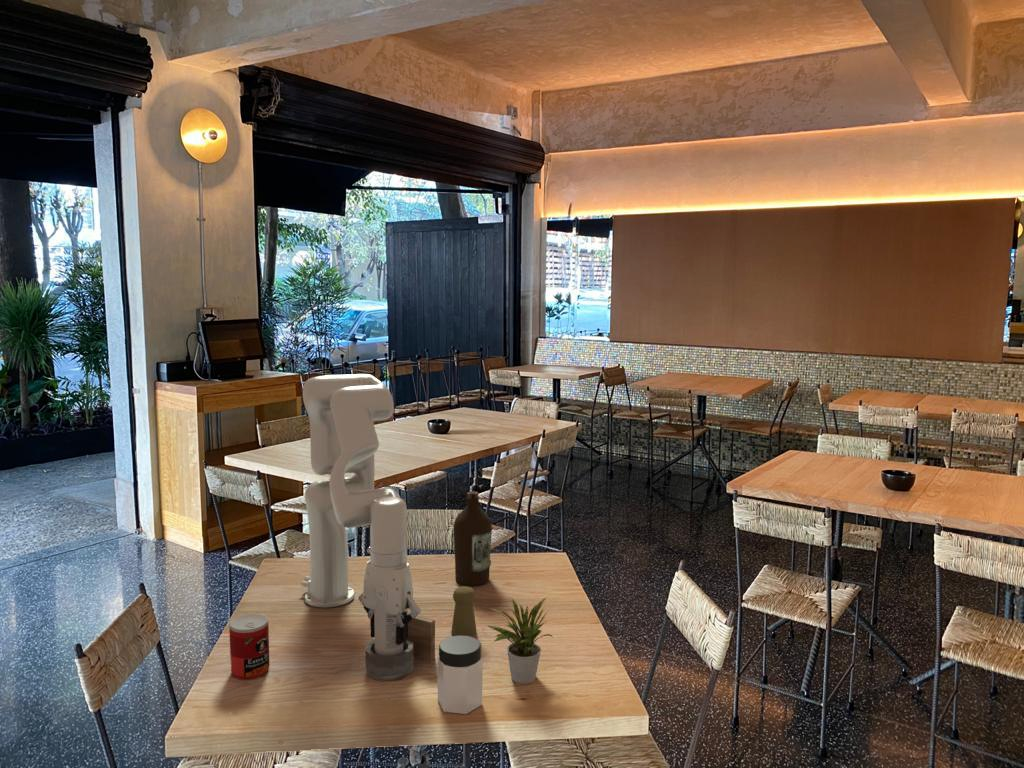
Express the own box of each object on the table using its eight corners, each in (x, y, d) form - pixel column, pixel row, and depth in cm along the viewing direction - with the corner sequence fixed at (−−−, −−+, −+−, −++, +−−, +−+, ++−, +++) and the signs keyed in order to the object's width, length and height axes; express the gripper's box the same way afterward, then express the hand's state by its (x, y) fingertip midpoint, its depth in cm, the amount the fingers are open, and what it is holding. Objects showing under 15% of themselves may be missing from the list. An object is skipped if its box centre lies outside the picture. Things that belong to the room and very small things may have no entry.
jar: (460, 686, 152) (460, 630, 151) (490, 700, 147) (491, 642, 145) (428, 704, 145) (428, 646, 144) (458, 720, 140) (458, 659, 139)
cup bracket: (398, 686, 152) (398, 644, 151) (352, 672, 157) (351, 631, 156) (434, 658, 163) (434, 619, 162) (390, 646, 169) (390, 608, 168)
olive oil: (445, 579, 208) (445, 492, 205) (474, 570, 216) (474, 485, 213) (470, 590, 201) (471, 500, 198) (499, 580, 208) (500, 493, 205)
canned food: (247, 684, 152) (246, 633, 151) (222, 673, 156) (220, 623, 155) (277, 668, 158) (276, 619, 157) (252, 658, 163) (251, 610, 161)
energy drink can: (392, 648, 163) (392, 583, 161) (409, 658, 159) (408, 591, 157) (369, 657, 159) (368, 590, 157) (385, 668, 154) (385, 599, 153)
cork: (473, 640, 172) (473, 594, 171) (447, 637, 174) (448, 592, 172) (479, 628, 178) (479, 584, 177) (455, 626, 179) (455, 582, 178)
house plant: (513, 651, 167) (514, 581, 165) (568, 668, 160) (570, 595, 158) (478, 679, 155) (478, 604, 153) (536, 698, 148) (537, 620, 146)
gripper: (344, 554, 157) (345, 636, 159) (412, 570, 149) (412, 655, 151) (367, 544, 163) (368, 622, 165) (433, 558, 155) (433, 640, 158)
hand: (389, 637), depth 158 cm, fingers closed on energy drink can, 6 cm apart
